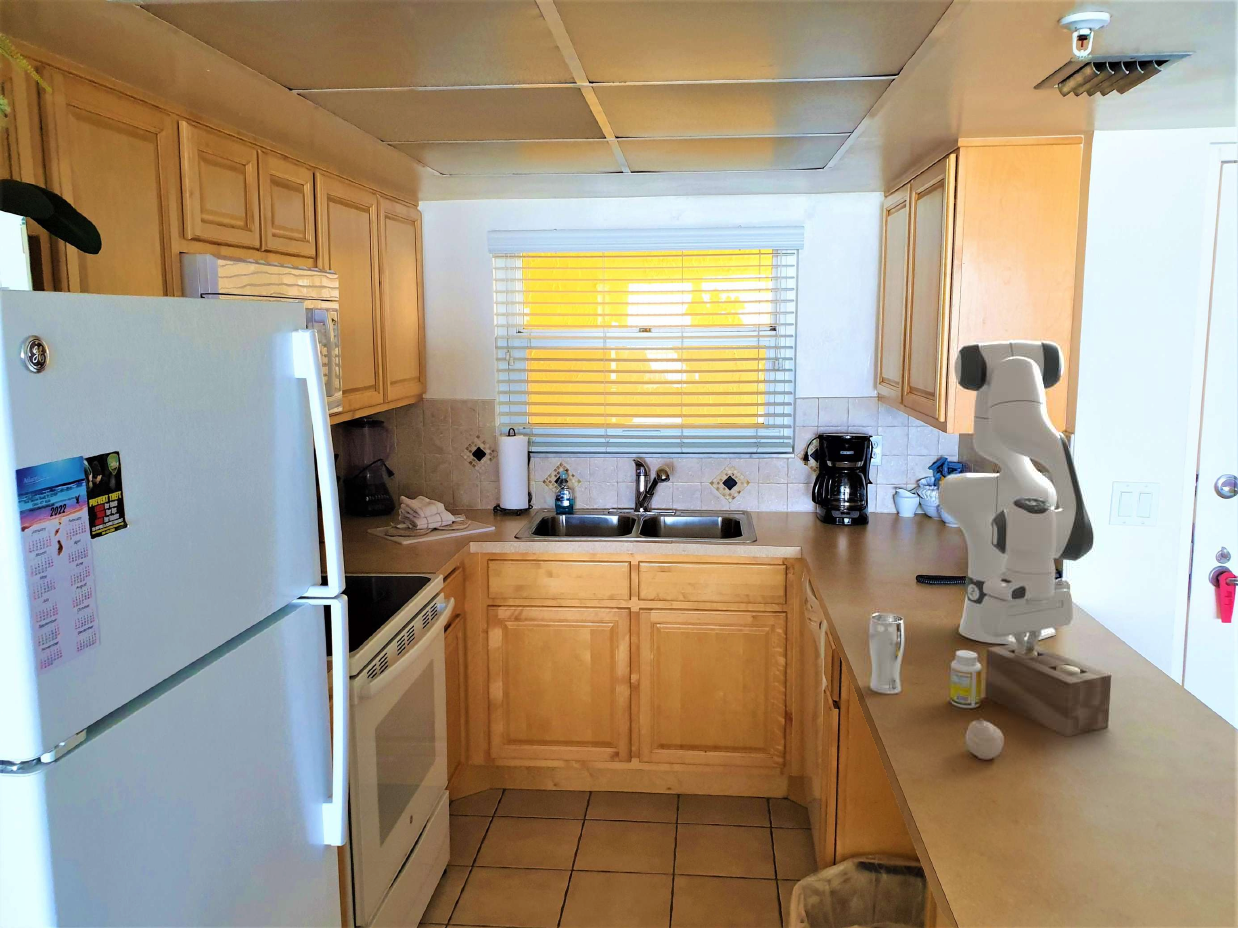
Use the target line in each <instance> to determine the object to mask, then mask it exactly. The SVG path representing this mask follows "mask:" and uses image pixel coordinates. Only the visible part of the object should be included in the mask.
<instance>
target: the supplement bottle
mask: <svg viewBox="0 0 1238 928" xmlns="http://www.w3.org/2000/svg"><path fill="white" fill-rule="evenodd" d="M981 686H982V665H981V664H980V663H979V662H978V654H977V653H976V652H974V651H972V650H964V649H963V650H957V651H956V652H955V657H954V660H953V661H952V662H951V663H950V687H949V688H950V689H949V690H950V691H949V698H950V699H949V700H950V702H951V704H952V705H954V706H956V707H958V708H962V709H974V708H978V707H979V706H980V705H981V694H982V693H981V689H982V687H981Z"/></svg>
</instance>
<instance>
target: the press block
mask: <svg viewBox="0 0 1238 928" xmlns="http://www.w3.org/2000/svg"><path fill="white" fill-rule="evenodd" d="M1015 650H1017V643H1016V644H1010V645H1009V644H1004V645H998V646H993V647H990V648H989V647H988V648H986V659H985V660H986V661H985V662H986V663H985V665H986V666H985V690H984V698H987V699H988V700H991V701H993V702H995V703H997V704H999V705H1001V706H1003V707H1005V708H1007V709H1008V710H1011V711H1013V712H1016V713H1017V714H1019V715H1022V716H1024V717H1026V718H1028V719H1029V720H1033V721H1034V722H1036V723H1038V724H1040V725H1042V726H1045V727H1046V728H1048V729H1051V730H1052V731H1054V732H1056V733H1059V734H1061V735H1063V736H1065V737H1072V736H1075V735H1081V734H1084V733H1089V732H1092V731H1097V730H1098V731H1099V730H1102V729H1105V728H1109V720H1110V719H1109V718H1110V717H1109V715H1110V702H1111V701H1110V700H1111V685H1112V684H1111V683H1112V674H1110V673H1108V672H1105V671H1102V670H1100V669H1097V668H1095V667H1092V666H1089V665H1087V664H1084V663H1082V662H1079V661H1077V660H1073V659H1072V658H1068V657H1066V656H1064V655H1061V654H1058V653H1056V652H1054V651H1050V650H1048V649H1045V648H1044V647H1040V646H1038V645H1036V647H1035V652H1037V657H1032V658H1027V659H1026V658H1023V657H1021V656H1018V655H1016V654H1015ZM1060 665H1068V666H1073V667H1076V668H1078V669H1080V674H1077V675H1072V676H1067V675H1065V674H1062V673H1060V672H1058V671H1056V667H1057V666H1060Z"/></svg>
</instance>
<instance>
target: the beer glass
mask: <svg viewBox="0 0 1238 928" xmlns="http://www.w3.org/2000/svg"><path fill="white" fill-rule="evenodd" d="M905 632H906V631H905V618H904V617H903V616H901V615H898V614H896V613H888V612H879V613H874V614H871V615H870V621H869V629H868V643H869V644H868V646H869V652H870V653H869V654H870V660H871V666H872V667H871V669H872V673H871V674H872V675H871V680H870V684H869V688H870V689H871V691H873V692H876V693H877V694H878V693H879V694H883V695H894V694H897V693H899V692H901V691H902V687H901V686H902V685H901V679H900V669H901V664H902V659H903V655H904V648H905V635H906V634H905Z"/></svg>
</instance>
